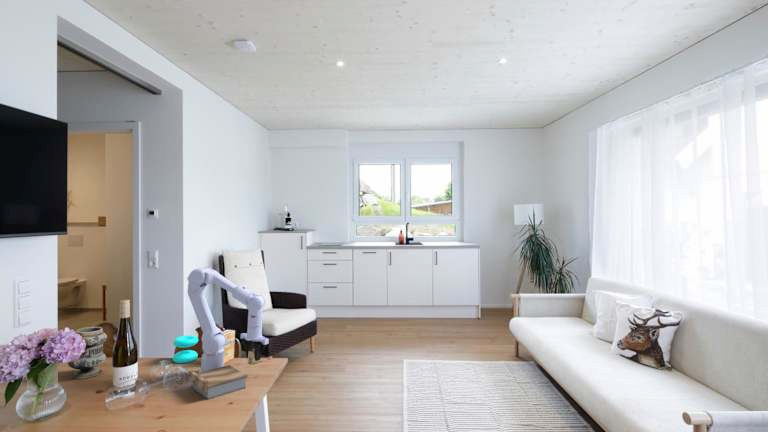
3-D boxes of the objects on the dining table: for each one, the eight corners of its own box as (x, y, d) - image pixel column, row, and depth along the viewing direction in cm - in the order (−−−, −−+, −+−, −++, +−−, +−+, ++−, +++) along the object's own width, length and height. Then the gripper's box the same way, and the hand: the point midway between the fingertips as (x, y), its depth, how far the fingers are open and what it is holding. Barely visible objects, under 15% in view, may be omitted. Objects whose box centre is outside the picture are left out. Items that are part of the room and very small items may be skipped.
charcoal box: (192, 387, 142) (192, 376, 142) (228, 377, 153) (228, 367, 153) (207, 399, 133) (208, 388, 133) (245, 388, 143) (245, 377, 143)
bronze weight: (245, 362, 155) (246, 350, 155) (255, 360, 158) (256, 348, 159) (251, 365, 152) (251, 352, 152) (261, 362, 155) (261, 350, 156)
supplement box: (223, 364, 166) (224, 334, 167) (213, 363, 167) (215, 333, 167) (234, 358, 174) (235, 330, 175) (225, 357, 175) (226, 329, 176)
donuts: (168, 340, 166) (182, 334, 176) (167, 363, 166) (181, 355, 176) (190, 341, 165) (202, 335, 175) (189, 364, 165) (202, 357, 175)
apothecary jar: (101, 377, 149) (104, 331, 149) (62, 382, 144) (65, 334, 144) (108, 367, 160) (110, 324, 160) (72, 371, 154) (74, 326, 155)
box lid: (188, 380, 142) (188, 371, 142) (229, 369, 153) (229, 361, 153) (204, 392, 132) (204, 382, 132) (246, 379, 143) (246, 370, 143)
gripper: (235, 324, 156) (233, 358, 156) (259, 330, 149) (258, 365, 148) (248, 321, 162) (247, 353, 162) (273, 326, 155) (271, 360, 154)
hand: (253, 358), depth 155 cm, fingers closed on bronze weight, 4 cm apart
